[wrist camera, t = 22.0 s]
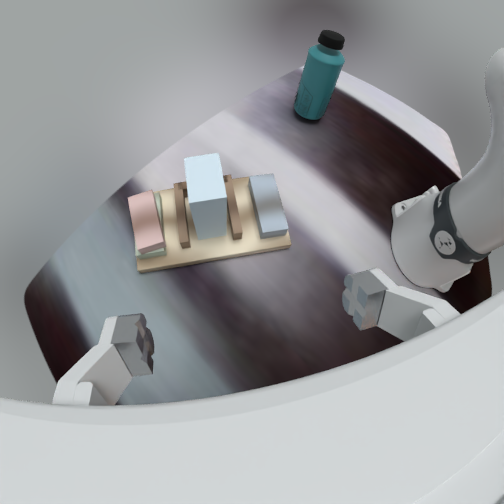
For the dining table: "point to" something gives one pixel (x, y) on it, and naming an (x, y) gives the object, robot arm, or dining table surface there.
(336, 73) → the beverage bottle
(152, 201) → the block display stand
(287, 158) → the dining table surface
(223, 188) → the pale blue upright box
